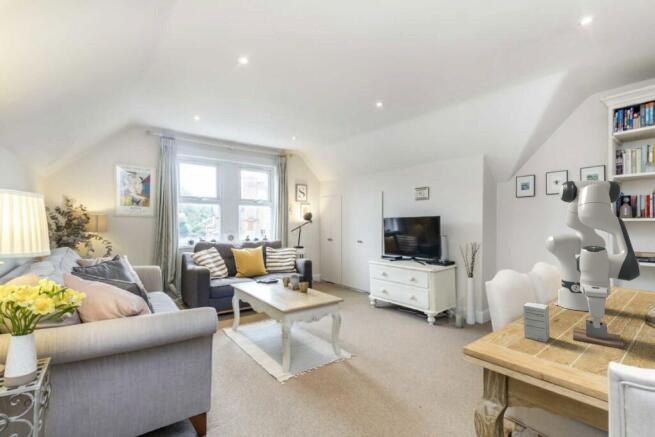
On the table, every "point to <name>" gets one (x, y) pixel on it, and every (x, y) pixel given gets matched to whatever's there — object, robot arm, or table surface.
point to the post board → (612, 340)
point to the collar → (596, 330)
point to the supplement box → (536, 321)
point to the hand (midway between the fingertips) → (596, 324)
